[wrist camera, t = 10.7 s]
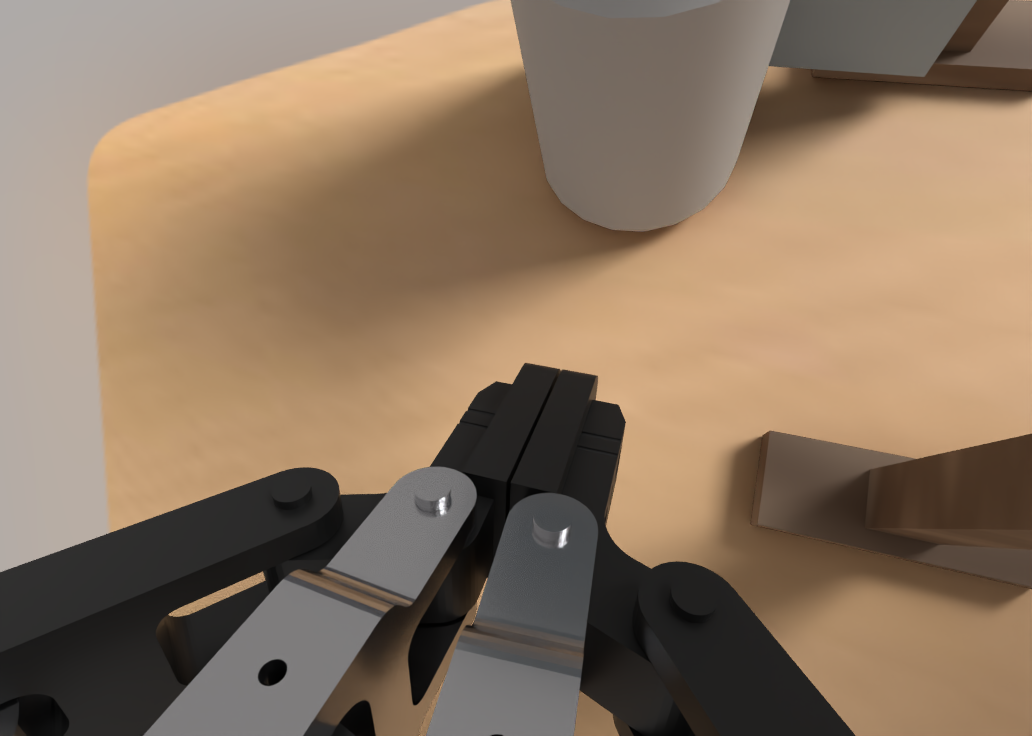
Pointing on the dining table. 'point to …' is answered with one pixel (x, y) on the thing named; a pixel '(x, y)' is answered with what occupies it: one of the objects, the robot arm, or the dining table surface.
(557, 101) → the can
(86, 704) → the robot arm
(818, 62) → the door
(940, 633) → the dining table surface
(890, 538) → the door frame
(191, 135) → the dining table surface
